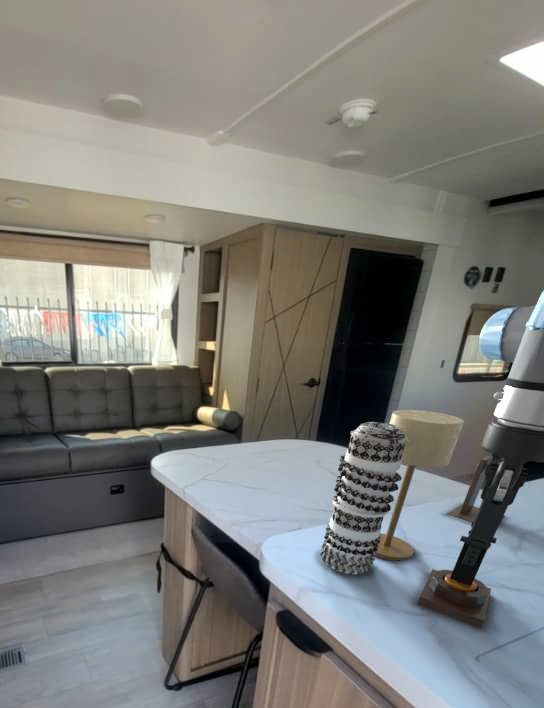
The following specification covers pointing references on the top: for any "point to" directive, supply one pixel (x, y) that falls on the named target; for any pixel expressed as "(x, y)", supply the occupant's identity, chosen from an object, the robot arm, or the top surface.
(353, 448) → the decorative candle
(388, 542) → the lamp
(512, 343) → the robot arm
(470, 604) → the button block
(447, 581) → the button
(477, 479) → the stand
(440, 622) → the top surface
